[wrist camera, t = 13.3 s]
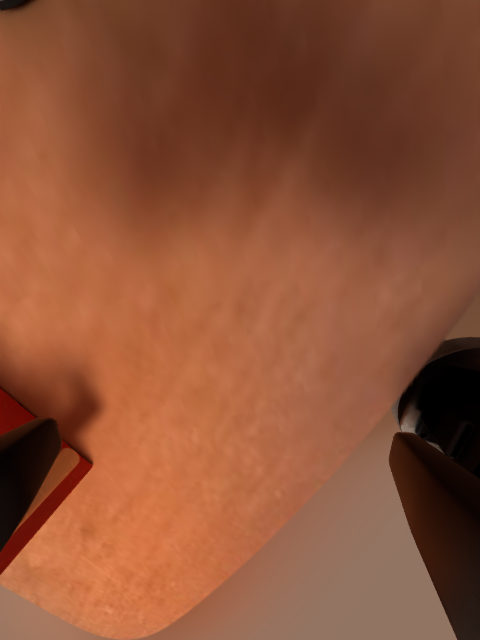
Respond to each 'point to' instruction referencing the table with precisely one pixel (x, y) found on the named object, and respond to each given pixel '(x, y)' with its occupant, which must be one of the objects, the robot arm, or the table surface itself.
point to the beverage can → (10, 3)
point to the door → (59, 483)
